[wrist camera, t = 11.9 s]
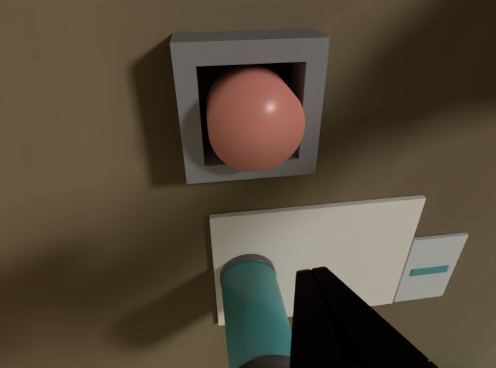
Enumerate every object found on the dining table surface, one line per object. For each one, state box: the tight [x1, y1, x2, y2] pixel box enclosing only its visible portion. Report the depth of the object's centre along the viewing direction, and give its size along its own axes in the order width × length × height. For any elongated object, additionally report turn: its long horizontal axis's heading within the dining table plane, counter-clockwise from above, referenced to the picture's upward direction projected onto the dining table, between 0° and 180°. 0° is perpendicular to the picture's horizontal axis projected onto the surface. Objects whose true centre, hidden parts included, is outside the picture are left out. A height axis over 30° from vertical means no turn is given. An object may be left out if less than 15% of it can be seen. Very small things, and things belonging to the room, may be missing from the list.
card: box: [393, 232, 468, 302], centre depth 28 cm, size 4×7×1 cm, turn 1°
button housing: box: [170, 29, 330, 184], centre depth 18 cm, size 7×7×2 cm
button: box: [206, 64, 305, 172], centre depth 17 cm, size 4×4×3 cm
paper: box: [209, 195, 426, 326], centre depth 26 cm, size 15×11×1 cm
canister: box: [220, 254, 292, 368], centre depth 21 cm, size 4×4×9 cm
